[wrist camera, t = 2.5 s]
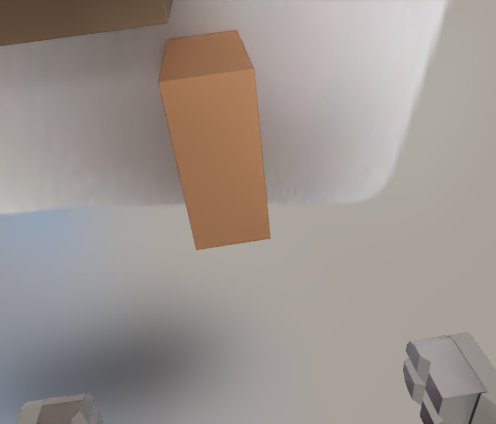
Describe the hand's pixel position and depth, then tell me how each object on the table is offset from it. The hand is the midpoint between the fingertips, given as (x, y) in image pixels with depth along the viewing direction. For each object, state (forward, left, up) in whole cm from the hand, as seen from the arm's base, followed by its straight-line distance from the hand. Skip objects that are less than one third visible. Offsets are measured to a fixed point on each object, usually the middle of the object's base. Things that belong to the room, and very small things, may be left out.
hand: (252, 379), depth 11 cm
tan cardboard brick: (0, 0, -19) cm, 19 cm away
